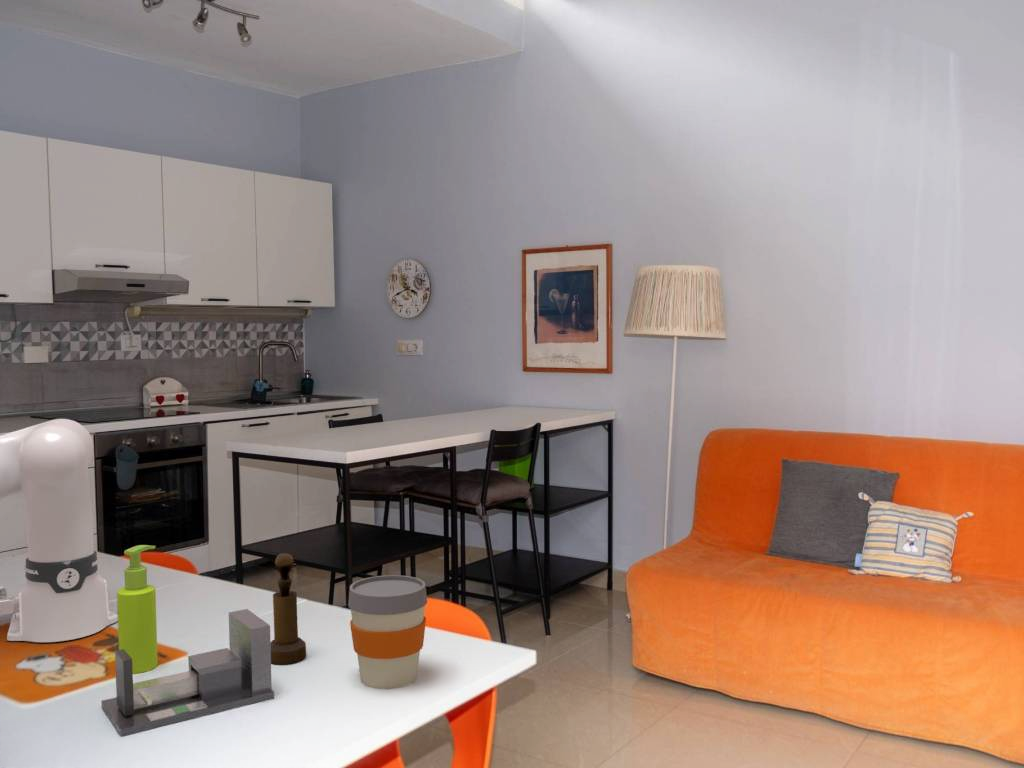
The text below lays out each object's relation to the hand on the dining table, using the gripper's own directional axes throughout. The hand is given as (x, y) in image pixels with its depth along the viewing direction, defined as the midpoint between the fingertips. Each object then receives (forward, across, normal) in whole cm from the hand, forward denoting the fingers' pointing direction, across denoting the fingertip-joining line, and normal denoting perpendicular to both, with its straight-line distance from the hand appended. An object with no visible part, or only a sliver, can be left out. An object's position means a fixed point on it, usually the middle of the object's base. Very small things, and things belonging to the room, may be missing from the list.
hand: (9, 599), depth 124 cm
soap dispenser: (+21, -20, -20) cm, 35 cm away
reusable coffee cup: (+52, +9, -20) cm, 57 cm away
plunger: (+19, +2, -19) cm, 27 cm away
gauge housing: (+23, 0, -20) cm, 31 cm away
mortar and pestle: (+42, -9, -20) cm, 48 cm away
